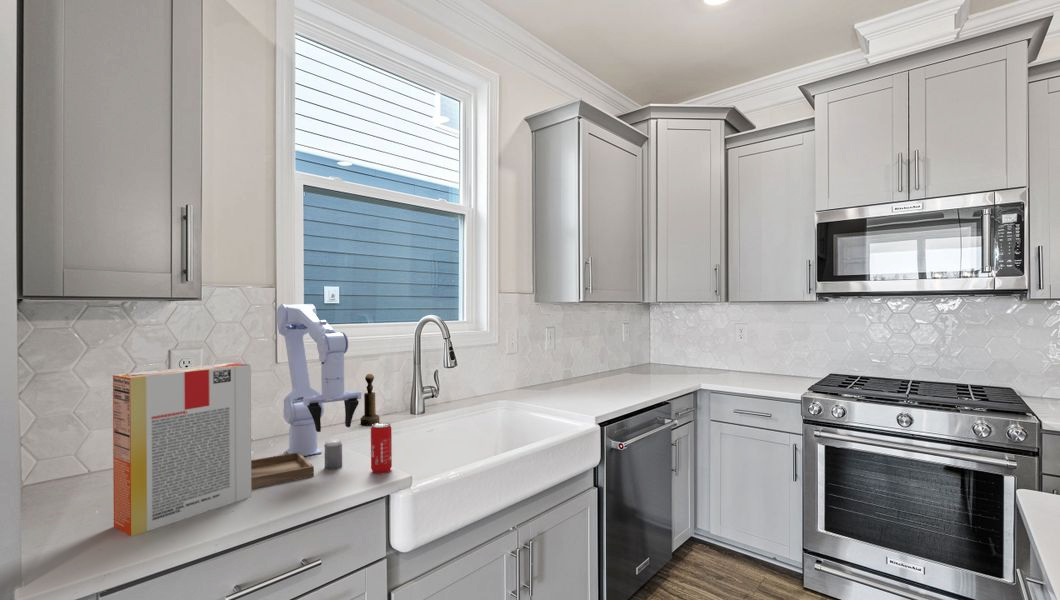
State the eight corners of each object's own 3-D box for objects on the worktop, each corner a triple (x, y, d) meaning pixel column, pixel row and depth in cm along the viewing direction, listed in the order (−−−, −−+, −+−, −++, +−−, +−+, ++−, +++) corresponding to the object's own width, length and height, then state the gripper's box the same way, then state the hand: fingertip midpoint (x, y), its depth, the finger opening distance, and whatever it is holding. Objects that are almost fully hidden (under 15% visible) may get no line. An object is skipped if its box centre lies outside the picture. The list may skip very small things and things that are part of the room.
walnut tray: (233, 472, 133) (232, 463, 133) (298, 460, 142) (298, 452, 142) (242, 490, 120) (242, 480, 120) (313, 476, 130) (313, 466, 130)
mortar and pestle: (372, 420, 190) (371, 372, 190) (383, 422, 187) (382, 373, 187) (356, 424, 185) (356, 374, 185) (367, 426, 181) (367, 375, 181)
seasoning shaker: (322, 467, 137) (322, 440, 137) (339, 463, 140) (339, 438, 140) (327, 471, 133) (327, 444, 133) (344, 467, 136) (344, 441, 136)
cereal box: (232, 490, 121) (231, 362, 121) (251, 496, 116) (250, 364, 116) (113, 526, 101) (112, 375, 101) (131, 536, 97) (130, 378, 97)
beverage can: (385, 475, 130) (385, 427, 130) (367, 473, 131) (366, 427, 131) (395, 468, 135) (394, 423, 135) (377, 467, 136) (376, 422, 136)
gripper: (307, 382, 129) (308, 436, 129) (364, 377, 138) (365, 427, 138) (301, 379, 135) (301, 430, 135) (356, 374, 143) (356, 422, 143)
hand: (333, 428), depth 136 cm, fingers open, 7 cm apart
